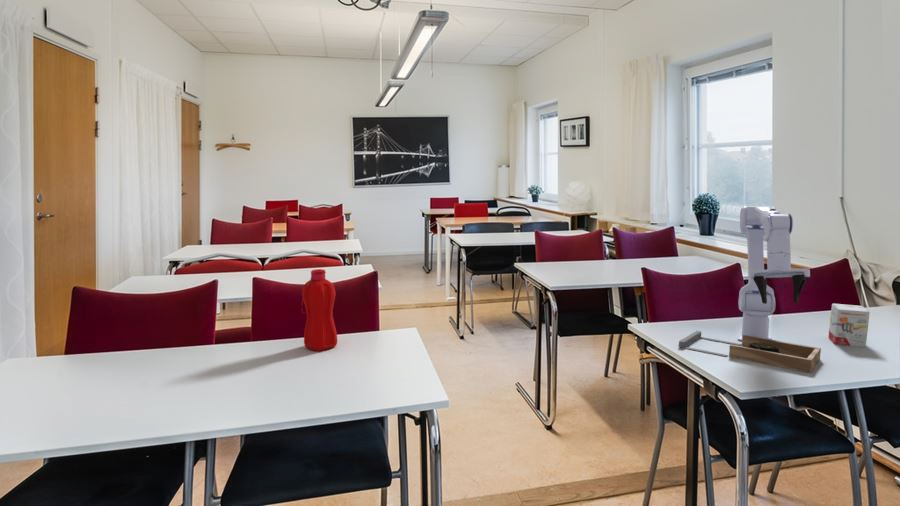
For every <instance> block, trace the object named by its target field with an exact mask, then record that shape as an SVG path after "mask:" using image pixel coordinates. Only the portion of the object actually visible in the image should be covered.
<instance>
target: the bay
mask: <svg viewBox="0 0 900 506" xmlns="http://www.w3.org/2000/svg"><path fill="white" fill-rule="evenodd" d="M699 339H701V340H708V341H712V342H717V343H723V344H728V345H731V344H732V345H737V346H742V343H737V342H731V341H726V340H720V339H715V338H711V337H705V336H702V331H699V330H696V331H694V332H692V333H690V334H689V335H687V336H686V337H684V338H682V339H681V340H679V341H678V348H679V347H680V349H684V348H685V349H684V350H689V351H693V352H699V353H705V354H709V355H715V356H720V357H725V358H727V357H729V355H728V354H724V353H719V352H714V351H710V350H702V349H699V348H693V347H688V346H690V345H691V344H693V343H694V342H696V341H698V340H699Z"/></svg>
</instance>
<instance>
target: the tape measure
mask: <svg viewBox="0 0 900 506" xmlns="http://www.w3.org/2000/svg"><path fill="white" fill-rule="evenodd" d="M749 348H753V349H759V350H764V351H770V352H775V353H779V349H778V348H776V347H774V346H771V345H768V344H765V343H762V342H758V343H757V342H753V343H751V344H750V345H749Z"/></svg>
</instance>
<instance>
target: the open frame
mask: <svg viewBox="0 0 900 506" xmlns="http://www.w3.org/2000/svg"><path fill="white" fill-rule="evenodd" d="M741 336H742V335H741ZM753 342H757V343H758V342H762V343H765V344H768V345H771V346H774V347H776V348H778V349H779V353H775V352H770V351H764V350H759V349H753V348H749V345H750V344H751V343H753ZM741 344H742V345H741V346H739V345H733V344H729V350H728V351H729V352H728V354H729V355H728V357H730V358H735V359H740V360H743V361H748V362H755V363H758V364H759V363H760V364H764V365H768V366H769V365H770V366H775V367H781V368H785V369H790V370H795V371H800V372H806V373H809V374H810V373H811V372H812V371H813V370H814V368H815V367H816V366H817V364H818V363H819V361H820V360H821V352H822V351H821V350H822V349H821V347H817V346H811V345H805V344H804V345H803V344H799V343H792V342H786V341H780V340H775V339H764V338H758V337H753V336H747V335H743V336H742V341H741Z"/></svg>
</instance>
